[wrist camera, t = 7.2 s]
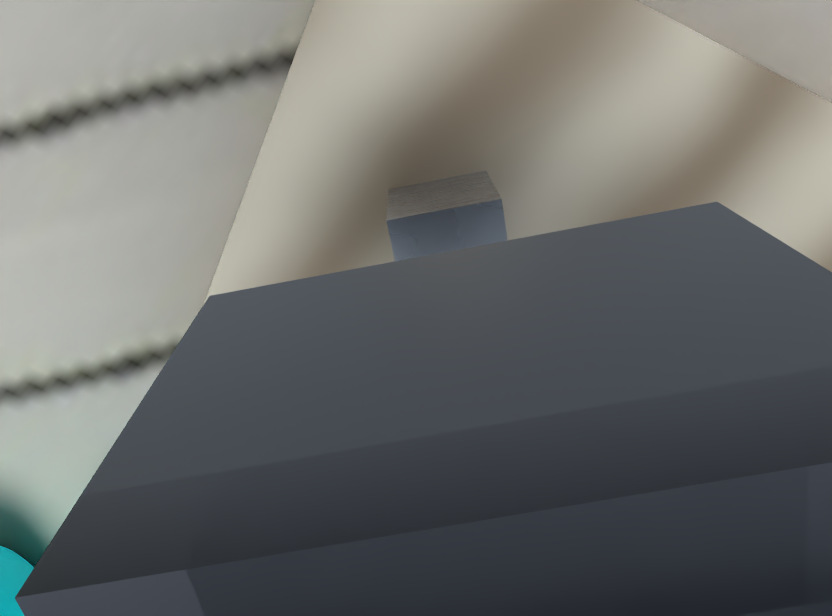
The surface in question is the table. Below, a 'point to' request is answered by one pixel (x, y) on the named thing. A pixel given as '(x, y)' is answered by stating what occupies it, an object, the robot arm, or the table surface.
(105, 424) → the table surface
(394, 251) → the silver metal cube
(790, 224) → the beige wavy cloth
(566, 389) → the dark grey box
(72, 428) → the table surface
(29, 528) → the table surface
